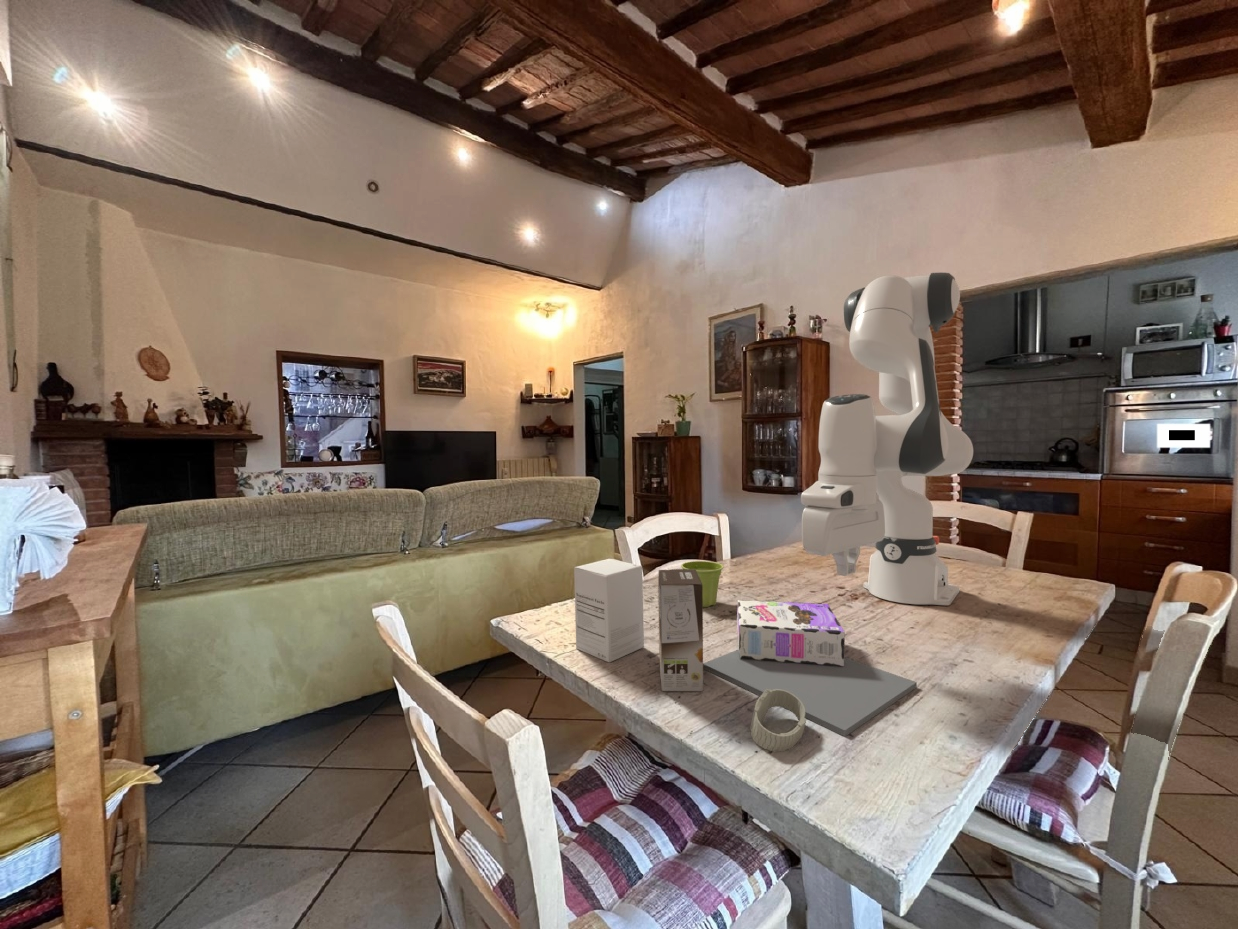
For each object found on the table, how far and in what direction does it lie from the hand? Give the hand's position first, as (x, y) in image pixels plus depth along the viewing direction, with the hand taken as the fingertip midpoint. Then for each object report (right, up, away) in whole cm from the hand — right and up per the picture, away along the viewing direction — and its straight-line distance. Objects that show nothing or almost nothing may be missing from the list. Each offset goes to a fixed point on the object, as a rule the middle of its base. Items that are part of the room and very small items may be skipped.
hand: (846, 574), depth 84 cm
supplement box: (-40, -15, +6) cm, 43 cm away
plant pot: (-19, -13, +30) cm, 38 cm away
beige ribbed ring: (-18, -16, -21) cm, 32 cm away
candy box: (-1, -10, +1) cm, 10 cm away
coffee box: (-29, -15, -6) cm, 33 cm away
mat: (-9, -15, -7) cm, 19 cm away
